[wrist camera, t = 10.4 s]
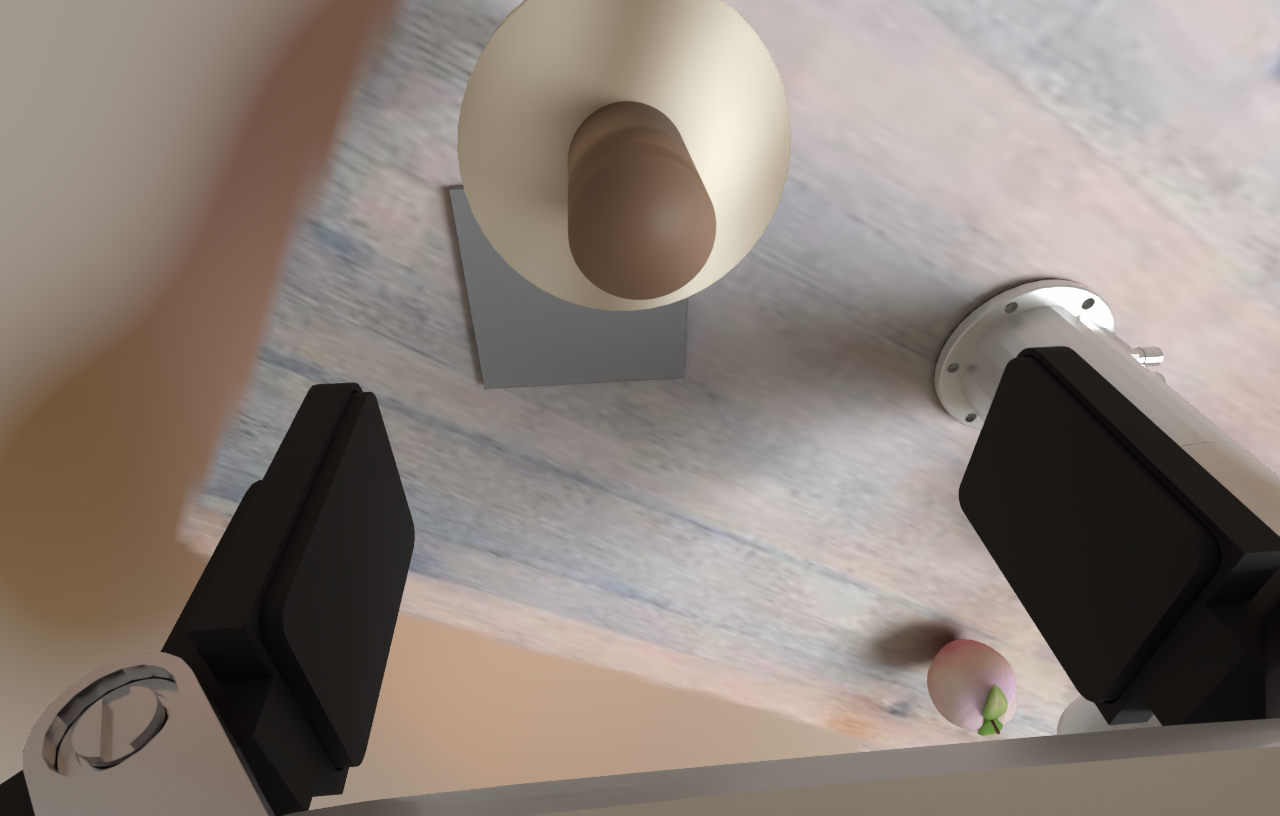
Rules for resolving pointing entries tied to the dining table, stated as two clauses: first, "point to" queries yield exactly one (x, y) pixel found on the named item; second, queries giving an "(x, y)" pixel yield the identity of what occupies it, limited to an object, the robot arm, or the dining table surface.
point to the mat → (557, 325)
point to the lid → (624, 146)
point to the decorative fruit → (973, 686)
